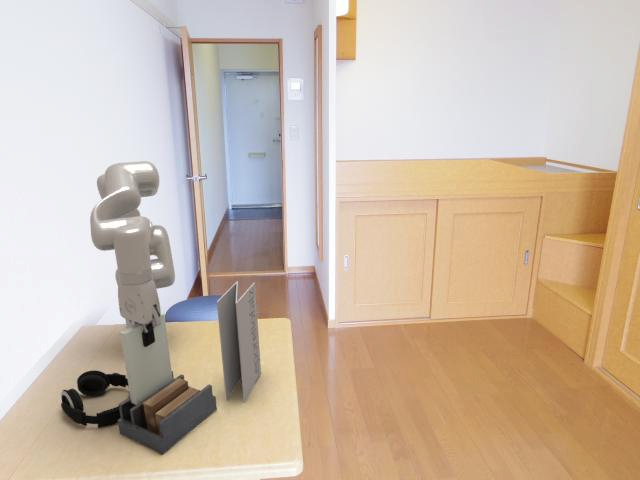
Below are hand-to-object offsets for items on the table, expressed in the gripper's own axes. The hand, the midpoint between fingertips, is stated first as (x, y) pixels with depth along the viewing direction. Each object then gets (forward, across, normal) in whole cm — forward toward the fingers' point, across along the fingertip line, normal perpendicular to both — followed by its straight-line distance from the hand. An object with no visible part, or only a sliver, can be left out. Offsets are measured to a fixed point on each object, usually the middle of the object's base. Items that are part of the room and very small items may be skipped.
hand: (145, 342), depth 118 cm
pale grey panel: (+14, 0, 0) cm, 14 cm away
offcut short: (+22, +10, 0) cm, 24 cm away
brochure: (+22, +13, +21) cm, 33 cm away
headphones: (+22, -15, -5) cm, 27 cm away
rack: (+22, +5, 0) cm, 22 cm away
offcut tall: (+22, +6, 0) cm, 22 cm away
